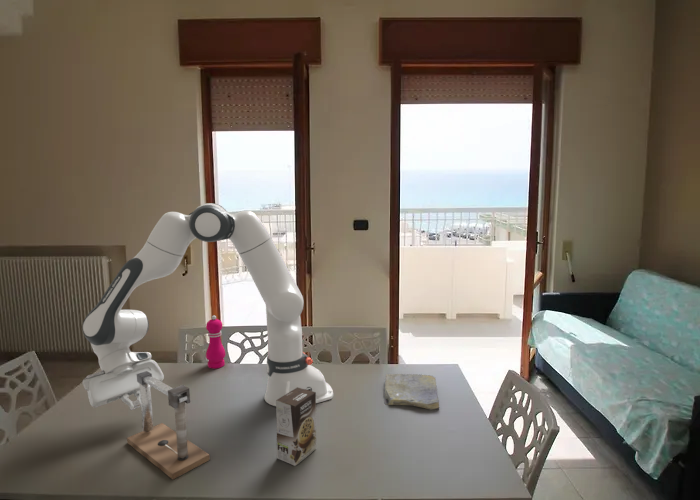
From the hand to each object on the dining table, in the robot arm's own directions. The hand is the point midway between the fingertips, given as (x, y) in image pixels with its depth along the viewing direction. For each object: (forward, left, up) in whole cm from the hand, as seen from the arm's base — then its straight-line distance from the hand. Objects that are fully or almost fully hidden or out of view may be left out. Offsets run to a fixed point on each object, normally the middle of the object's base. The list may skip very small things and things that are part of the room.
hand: (136, 407), depth 129 cm
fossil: (-83, +8, -8) cm, 84 cm away
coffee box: (-40, +27, -7) cm, 49 cm away
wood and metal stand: (-8, +14, -7) cm, 18 cm away
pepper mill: (-24, -40, -7) cm, 47 cm away
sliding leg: (-8, +14, -5) cm, 16 cm away
